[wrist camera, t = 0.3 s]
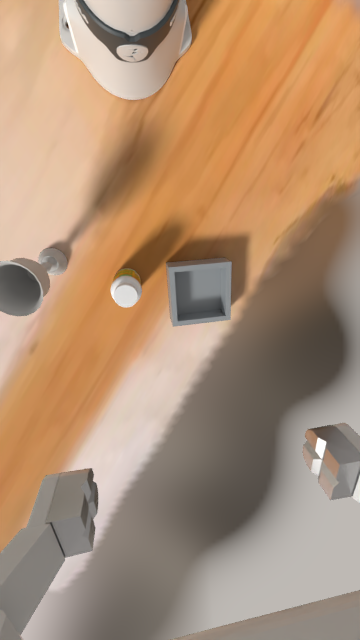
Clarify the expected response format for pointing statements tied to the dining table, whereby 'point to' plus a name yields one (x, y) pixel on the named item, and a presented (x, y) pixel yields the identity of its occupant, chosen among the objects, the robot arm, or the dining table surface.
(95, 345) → the dining table surface
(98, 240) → the dining table surface
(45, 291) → the chalice
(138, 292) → the supplement bottle
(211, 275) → the tray
